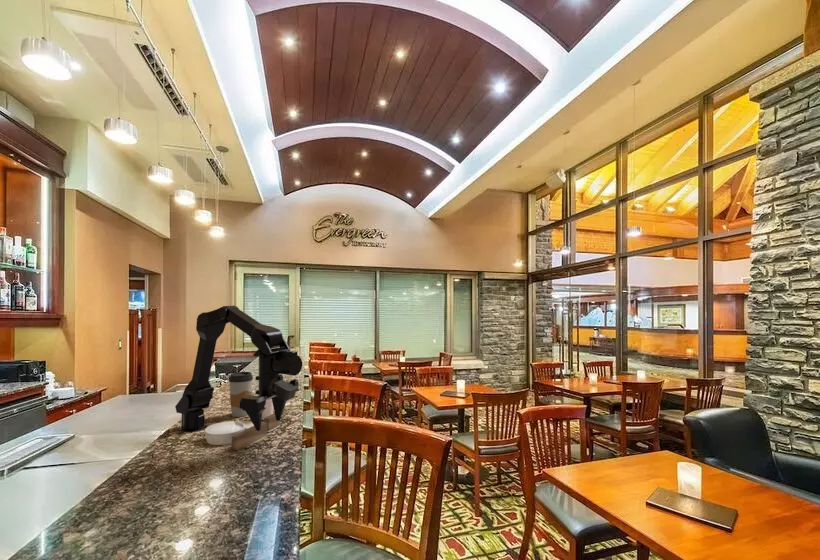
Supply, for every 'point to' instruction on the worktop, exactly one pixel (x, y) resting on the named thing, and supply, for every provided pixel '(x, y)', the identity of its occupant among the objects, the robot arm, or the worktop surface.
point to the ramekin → (223, 432)
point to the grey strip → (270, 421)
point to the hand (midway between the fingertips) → (268, 425)
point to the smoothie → (267, 408)
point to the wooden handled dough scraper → (249, 437)
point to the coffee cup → (239, 391)
